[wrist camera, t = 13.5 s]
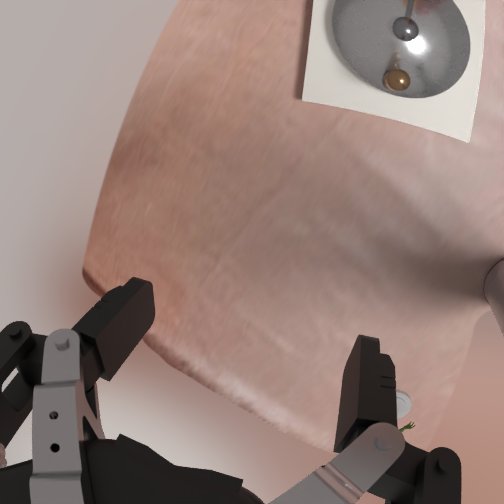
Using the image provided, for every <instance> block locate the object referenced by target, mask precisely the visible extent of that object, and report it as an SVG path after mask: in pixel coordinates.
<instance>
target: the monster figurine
mask: <svg viewBox="0 0 504 504" xmlns="http://www.w3.org/2000/svg"><path fill="white" fill-rule="evenodd" d="M396 397H397V419H400V418H402V417H403V416H405V415H406V414H407V413H408V412H409V411H410V409H411V406H412V401H411V398H410V396H409V395H408V394H407V393H406V392H404V391H401V390H397V389H396ZM410 423H411V422H410ZM410 423H409V424H408V425H406V426H404V427H403V428H401V429H400V431H401V432H403V431H404V429H411V428H413V427H414V426H415V425H414V426H413V427H411V426H412V425H413V424H414V423H413V424H412V425H410Z"/></svg>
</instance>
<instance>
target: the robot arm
mask: <svg viewBox="0 0 504 504" xmlns="http://www.w3.org/2000/svg"><path fill="white" fill-rule="evenodd" d="M484 293H485V297H486V299H487V301H488V303H489V305H490V307H491V309H492V311H493V313H494V315H495V318H496V320H497V322H498V324H499V326H500V329H501V331H502V333H503V336H504V259H503V260H502V261H500V262H498V263H497V264H496V265H495V266H494V267H493V268H492V269H491V271H490V272H489V274H488V275H487V278H486V280H485V284H484ZM154 318H155V304H154V295H153V285H152V283H151V282H149V281H146V280H143V279H139V278H136V277H132V278H131V279H130V280H129V281H128V282H127V283H126V284H125V285H124V286H118V287H116V288H114V289H112V290H110V291H108V292H107V293H106V294H105V295H104V296H103V297H102V298H101V301H98V302H97V303H96V304H95V306H94V307H92V308H91V309H90V310H89V311H88V312H87V313H86V314H85V315H84V316H83V317H82V318H81V319H80V321H79V322H78V323H77V324H76V325H75V326H74V327H73V328H72V329H59V330H56V331H54V332H52V333H51V334H50V335H49V336H45V335H38V334H33V333H32V330H31V328H30V326H29V325H28V324H27V323H26V322H23V321H16V322H13V323H11V324H9V325H7V326H6V327H5V328H4V329H3V330H2V331H1V332H0V504H264V503H263V501H262V500H261V499H260V498H258V497H257V496H256V495H255V494H254V493H252V492H251V491H249V490H248V489H246V488H244V487H242V483H243V479H239V478H236V477H232V476H229V475H226V474H222V473H219V472H216V471H213V470H207V469H198V468H189V467H182V466H176V465H173V464H172V463H170V462H169V461H167V460H166V459H165V458H163V457H162V456H160V455H159V454H157V453H156V452H155V451H153V450H152V449H151V448H149V447H148V446H146V445H144V444H141V443H139V442H137V441H135V440H133V439H130V438H128V437H126V436H124V435H122V434H119V436H118V438H117V439H116V440H112V439H105V436H104V432H103V430H102V426H101V420H100V411H99V402H98V393H97V384H96V381H97V380H98V379H99V377H101V378H103V379H105V380H107V381H110V380H111V379H112V377H113V376H114V375H115V374H116V372H117V371H118V369H119V368H120V367H121V365H122V364H123V363H124V361H125V360H126V359H127V357H128V356H129V355H130V353H131V352H132V351H133V349H134V348H135V347H136V345H137V344H138V342H139V341H140V340H141V339H142V337H143V336H144V335H145V333H146V332H147V331H148V330H149V328H150V327H151V325H152V324H153V321H154ZM15 368H17V370H18V373H17V375H16V376H15V377H14V379H13V380H12V381H11V382H10V384H9V385H8V386H7V387H6V389H5V390H4V391H3V392H2V384H3V382H4V381H5V380H6V378H7V377H8V376H9V375H10V373H11V372H12V371H13V370H14V369H15ZM395 378H396V376H395V366H394V364H393V362H392V360H391V358H390V356H389V355H387V354H381V353H380V342H379V339H378V338H374V337H369V336H364V335H359V336H358V337H357V339H356V342H355V344H354V347H353V349H352V351H351V354H350V356H349V358H348V360H347V363H346V366H345V369H344V373H343V379H342V389H341V398H340V407H339V415H338V423H337V431H336V438H335V445H334V451H333V452H337V453H340V454H338V455H337V456H336V457H335V458H334V459H332V460H331V461H330V462H329V463H327V464H326V465H324V466H321V467H319V468H318V469H316V470H315V471H314V472H312V473H311V474H310V475H308V476H307V477H306V478H304V479H303V480H302V481H301V482H299V483H297V484H296V485H295V486H294V487H292V488H291V489H289V490H288V491H286V492H285V493H283V494H282V495H280V496H279V497H278V498H276V499H275V500H273V501H272V502H270V503H268V504H355V503H356V502H357V501H358V499H359V498H360V497H361V496H362V495H363V494H364V493H365V492H366V491H367V492H369V493H371V494H374V495H376V496H378V497H381V498H383V499H386V500H385V504H461V462H460V459H459V457H458V456H457V454H456V453H455V452H454V451H452V450H451V449H449V448H445V447H438V448H435V449H433V450H432V451H431V452H427V451H424V450H422V449H419V448H417V447H414V446H412V445H410V444H409V443H407V442H406V441H405V439H404V436H403V434H402V432H401V431H400V430H399V429H398V427H397V397H396V380H395ZM32 409H33V413H32V454H33V459H31V460H28V461H25V462H21V463H18V464H14V465H11V466H7V467H6V465H7V461H6V459H5V448H6V447H7V445H8V444H9V442H10V441H11V439H12V438H13V436H14V435H15V433H16V432H17V430H18V429H19V427H20V426H21V425H22V423H23V422H24V420H25V419H26V417H27V416H28V415H29V413H30V412H31V410H32Z"/></svg>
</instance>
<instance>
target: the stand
mask: <svg viewBox="0 0 504 504" xmlns="http://www.w3.org/2000/svg"><path fill="white" fill-rule="evenodd" d="M335 1H336V0H314V2H313V11H312V20H311V29H310V38H309V47H308V55H307V63H306V72H305V80H304V88H303V95H302V101H307V102H313V103H319V104H325V105H330V106H336V107H341V108H346V109H350V110H355V111H360V112H364V113H369V114H373V115H377V116H381V117H385V118H389V119H393V120H397V121H400V122H404V123H408V124H411V125H415V126H418V127H422V128H425V129H428V130H432V131H435V132H438V133H441V134H444V135H447V136H450V137H453V138H456V139H459V140H462V141H464V142H467V143H469V140H470V135H471V130H472V125H473V120H474V115H475V109H476V103H477V97H478V91H479V84H480V76H481V68H482V58H483V47H484V33H485V0H453V1H454V2H455V4H456V5H457V7H458V8H459V10H460V11H461V13H462V15H463V17H464V19H465V22H466V24H467V27H468V31H469V35H470V43H471V45H470V57H469V61H468V65H467V67H466V69H465V71H464V73H463V75H462V76H461V78H460V79H459V80H458V81H457V82H456V83H455V84H454V85H453V86H452V87H451V88H449V89H448V90H446V91H444V92H442V93H441V94H438V95H435V96H432V97H426V98H403V97H398V96H394V95H391V94H388V93H385V92H383V91H380V90H378V89H376V88H375V87H373V86H371V85H369V84H368V83H367V82H365V81H364V80H362V79H361V78H360V77H359V76H358V75H357V74H356V73H355V72H354V71H353V70H352V69H351V68H350V67H349V66H348V64H347V63H346V61H345V60H344V59H343V57H342V55H341V53H340V51H339V49H338V47H337V44H336V42H335V38H334V34H333V27H332V13H333V8H334V4H335Z"/></svg>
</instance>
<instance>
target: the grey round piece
mask: <svg viewBox="0 0 504 504" xmlns="http://www.w3.org/2000/svg"><path fill="white" fill-rule="evenodd" d="M332 27H333V34H334V38H335V42H336V44H337V47H338V49H339V51H340V53H341V55H342V57H343V59H344V60H345V61H346V63H347V64H348V66H349V67H350V68H351V69H352V70H353V71H354V72H355V73H356V74H357V75H358V76H359V77H360V78H361V79H362V80H364V81H365V82H367V83H368V84H369V85H371V86H373V87H375V88H376V89H378V90H380V91H383V92H385V93H388V94H391V95H394V96H398V97H403V98H426V97H432V96H435V95H438V94H441V93H442V92H444V91H446V90H448V89H449V88H451V87H452V86H453V85H454V84H455V83H456V82H457V81H458V80H459V79H460V78H461V76H462V75H463V73H464V71H465V69H466V67H467V65H468V61H469V57H470V45H471V43H470V35H469V31H468V27H467V24H466V22H465V19H464V17H463V15H462V13H461V11H460V10H459V8H458V7H457V5H456V4H455V2H454V1H453V0H336V1H335V4H334V8H333V13H332Z"/></svg>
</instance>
